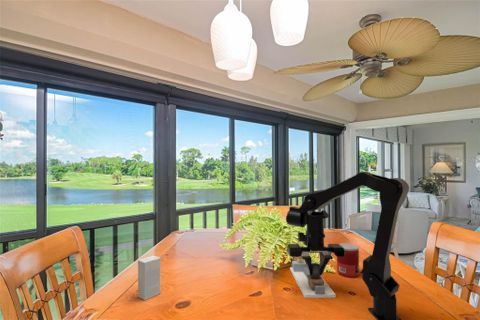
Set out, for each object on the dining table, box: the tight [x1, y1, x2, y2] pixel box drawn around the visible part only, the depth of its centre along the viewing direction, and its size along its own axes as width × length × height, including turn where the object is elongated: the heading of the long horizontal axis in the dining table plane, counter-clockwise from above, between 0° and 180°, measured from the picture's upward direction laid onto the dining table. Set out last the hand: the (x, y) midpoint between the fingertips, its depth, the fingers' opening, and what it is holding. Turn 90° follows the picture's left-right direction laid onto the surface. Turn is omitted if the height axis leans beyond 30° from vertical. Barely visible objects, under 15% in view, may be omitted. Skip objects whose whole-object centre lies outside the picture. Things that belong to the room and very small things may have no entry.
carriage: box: [307, 262, 325, 290], centre depth 90 cm, size 5×4×8 cm
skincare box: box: [137, 255, 162, 301], centre depth 87 cm, size 6×4×12 cm
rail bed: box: [289, 260, 337, 299], centre depth 96 cm, size 23×10×4 cm, turn 1°
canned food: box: [336, 243, 360, 279], centre depth 104 cm, size 8×8×11 cm
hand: (315, 275), depth 90 cm, fingers open, 3 cm apart
